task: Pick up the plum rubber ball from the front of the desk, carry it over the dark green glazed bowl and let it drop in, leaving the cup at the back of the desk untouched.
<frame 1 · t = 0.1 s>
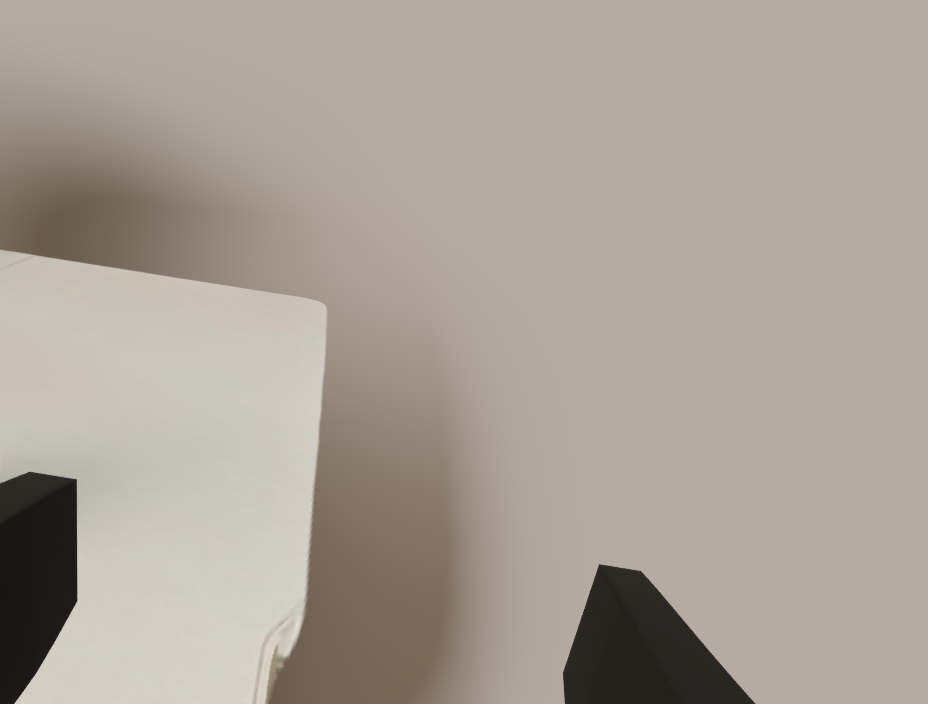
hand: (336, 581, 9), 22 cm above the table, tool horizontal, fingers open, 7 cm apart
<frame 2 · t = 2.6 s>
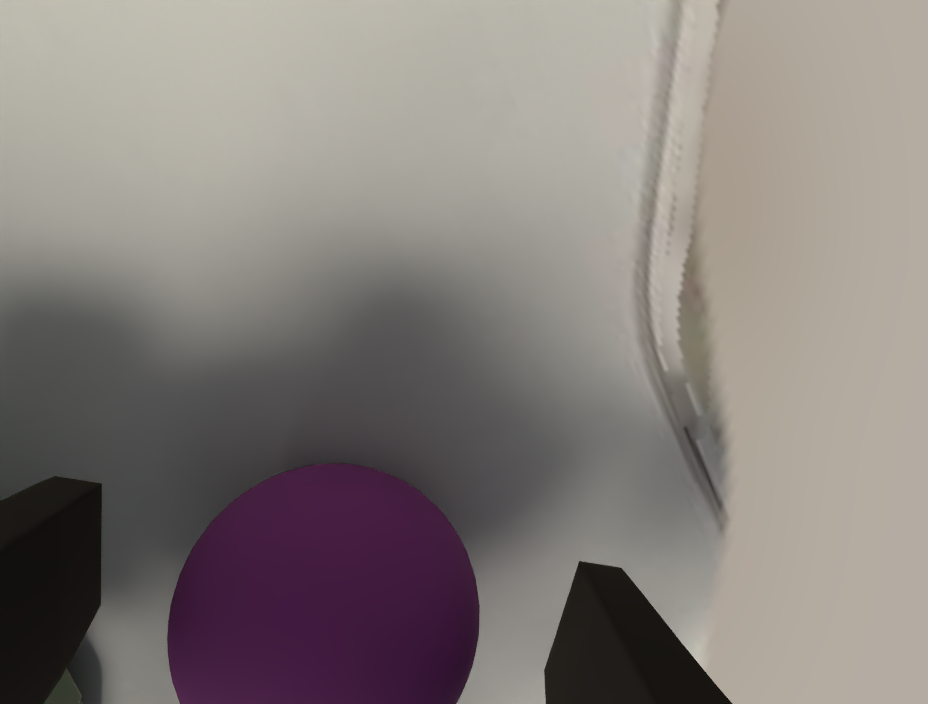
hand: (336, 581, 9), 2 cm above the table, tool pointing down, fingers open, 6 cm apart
ball: (330, 614, 9), point 2 cm above the table
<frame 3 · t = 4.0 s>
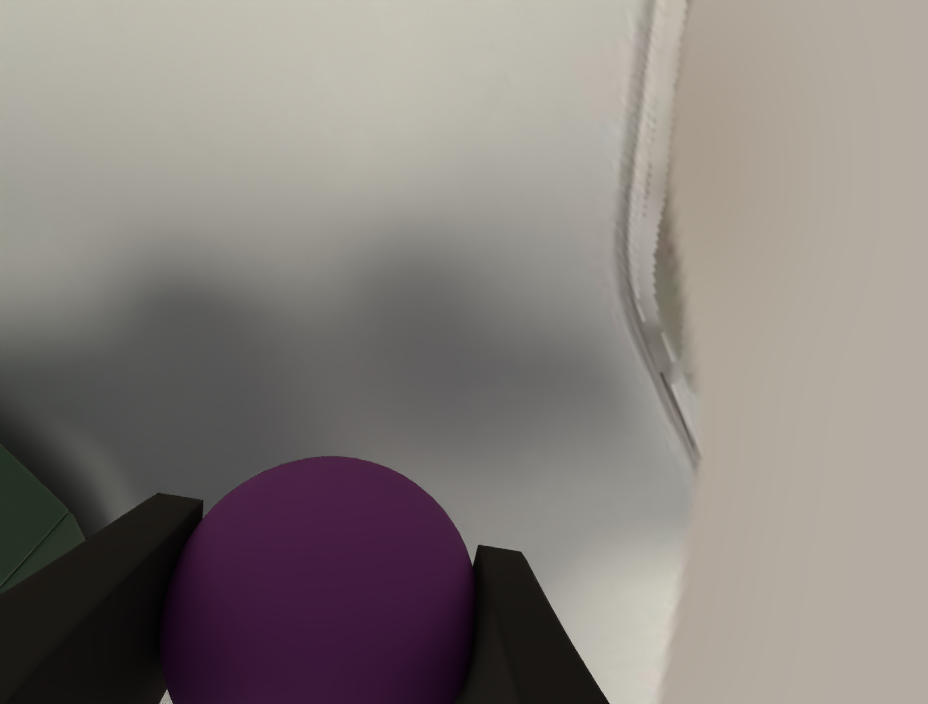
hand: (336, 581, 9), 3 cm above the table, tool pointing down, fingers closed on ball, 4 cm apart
ball: (326, 610, 9), point 4 cm above the table, touching gripper
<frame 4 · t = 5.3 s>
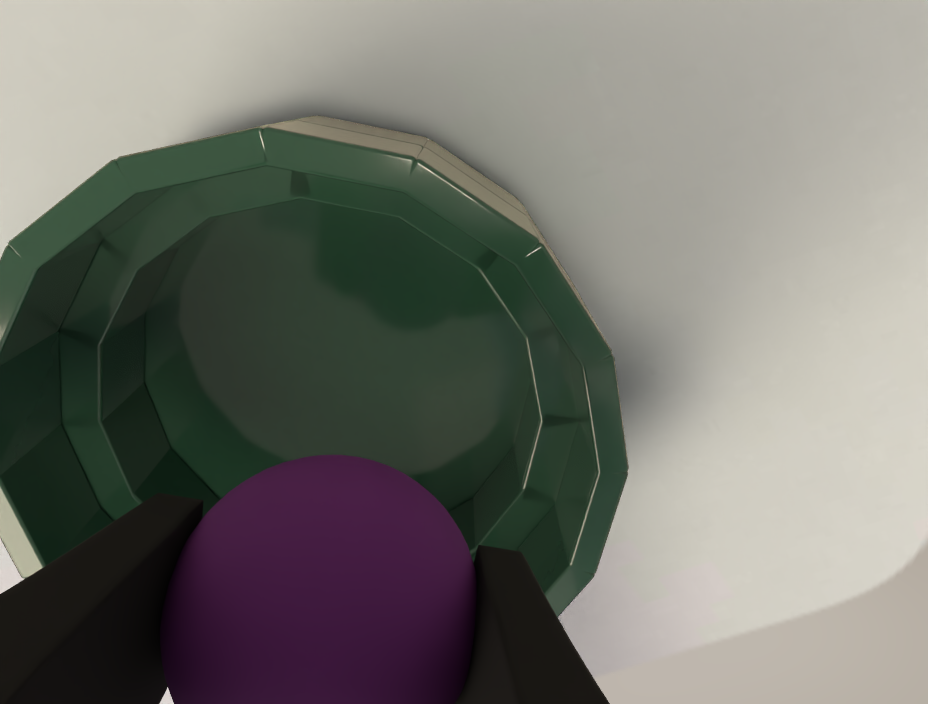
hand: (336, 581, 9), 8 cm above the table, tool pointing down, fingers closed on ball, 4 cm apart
bowl: (341, 371, 17), on the table
ball: (327, 609, 9), point 9 cm above the table, touching gripper
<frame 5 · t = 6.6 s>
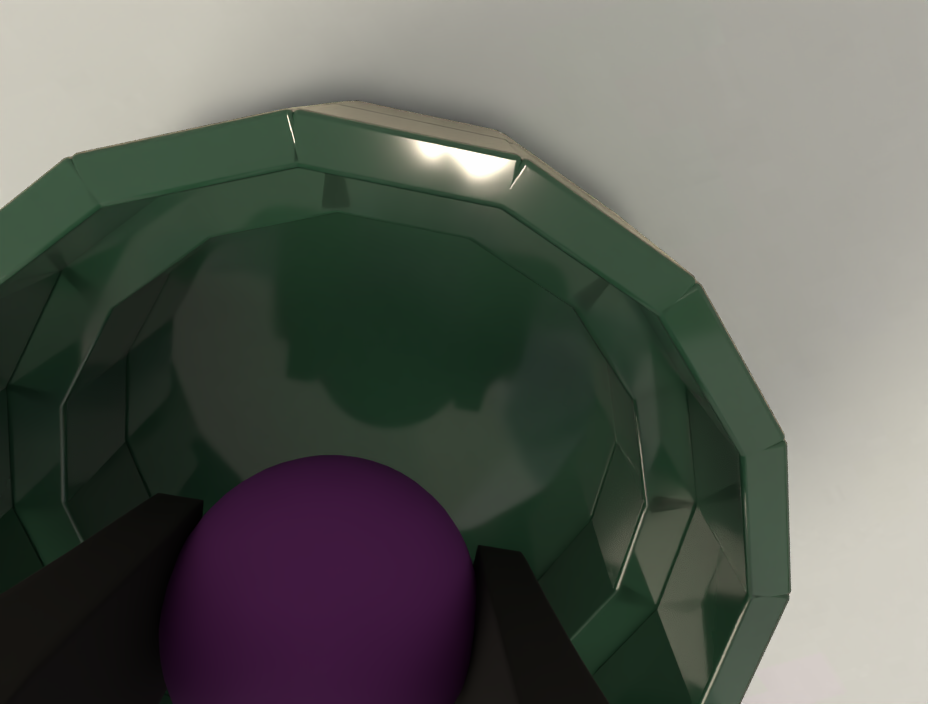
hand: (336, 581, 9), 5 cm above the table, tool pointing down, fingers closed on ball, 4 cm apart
bowl: (375, 425, 14), on the table
ball: (326, 609, 9), point 5 cm above the table, touching gripper
when the fingers open (3 cm above the table, at t = 7.5 s): ball stays where it is, resting on bowl.
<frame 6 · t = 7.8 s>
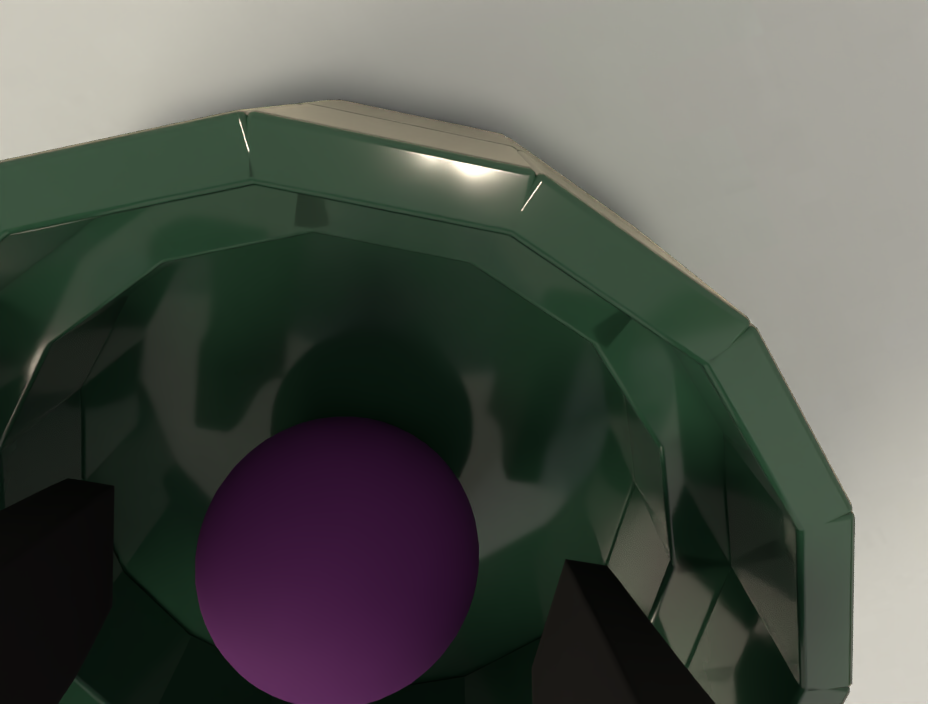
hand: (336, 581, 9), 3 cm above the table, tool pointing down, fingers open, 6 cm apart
bowl: (364, 463, 12), on the table
ball: (342, 553, 10), point 3 cm above the table, touching bowl
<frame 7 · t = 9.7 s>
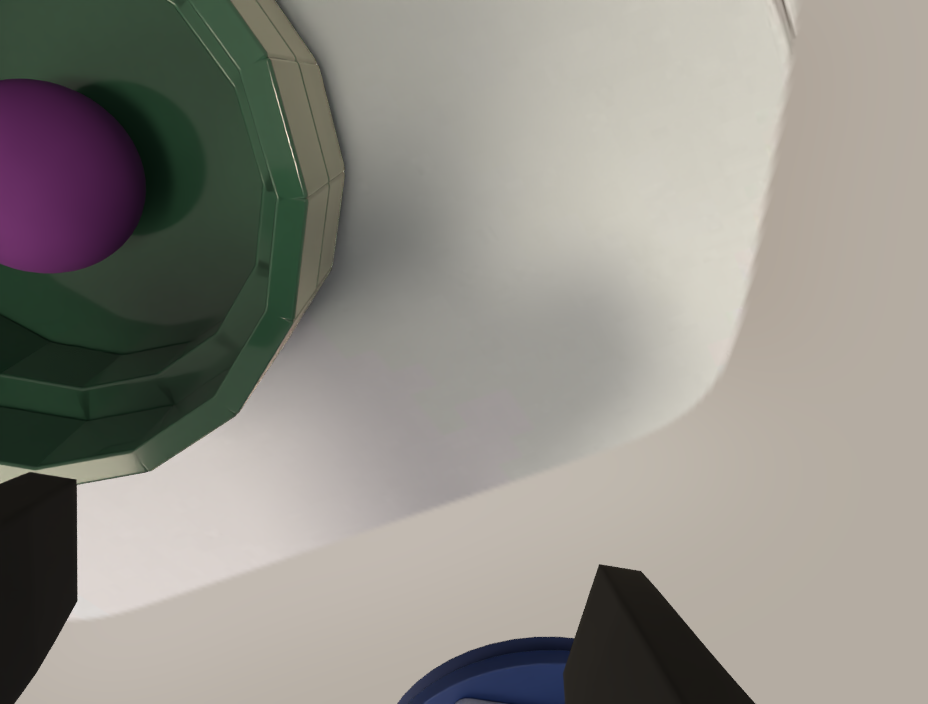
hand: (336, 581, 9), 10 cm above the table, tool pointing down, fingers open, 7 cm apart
bowl: (100, 167, 17), on the table
ball: (42, 179, 15), point 3 cm above the table, touching bowl
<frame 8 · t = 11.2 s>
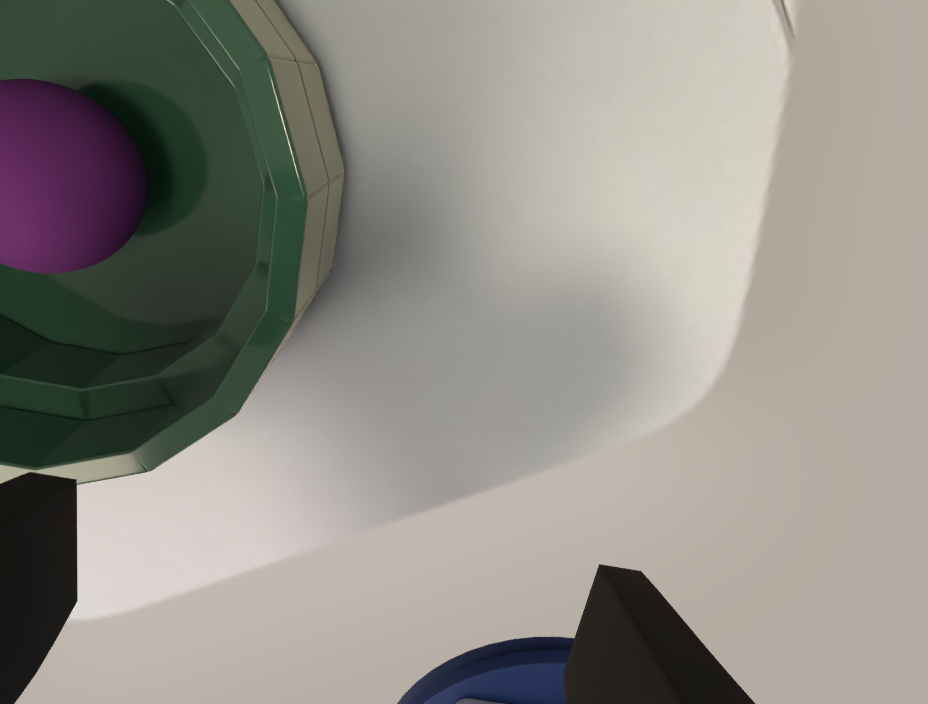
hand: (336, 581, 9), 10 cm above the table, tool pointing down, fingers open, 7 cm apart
bowl: (99, 167, 17), on the table
ball: (44, 179, 15), point 3 cm above the table, touching bowl
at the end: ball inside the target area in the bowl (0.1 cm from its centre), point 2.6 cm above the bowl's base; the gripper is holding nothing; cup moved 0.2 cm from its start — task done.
